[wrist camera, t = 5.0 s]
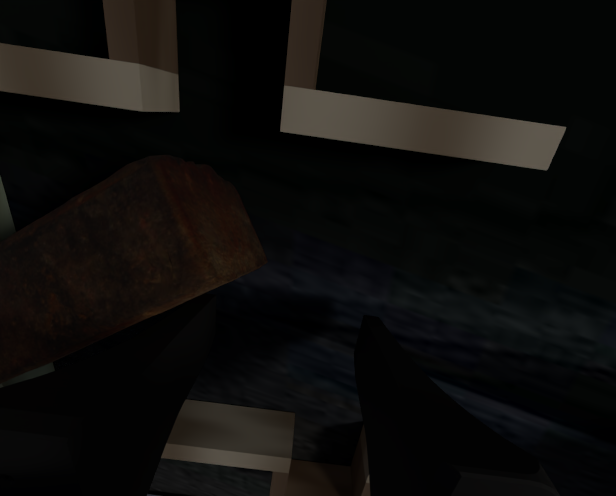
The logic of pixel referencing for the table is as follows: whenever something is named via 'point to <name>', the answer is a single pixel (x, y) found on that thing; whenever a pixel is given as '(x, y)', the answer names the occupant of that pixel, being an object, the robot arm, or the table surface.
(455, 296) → the table surface
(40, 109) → the table surface
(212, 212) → the brick
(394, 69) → the table surface
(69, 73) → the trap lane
